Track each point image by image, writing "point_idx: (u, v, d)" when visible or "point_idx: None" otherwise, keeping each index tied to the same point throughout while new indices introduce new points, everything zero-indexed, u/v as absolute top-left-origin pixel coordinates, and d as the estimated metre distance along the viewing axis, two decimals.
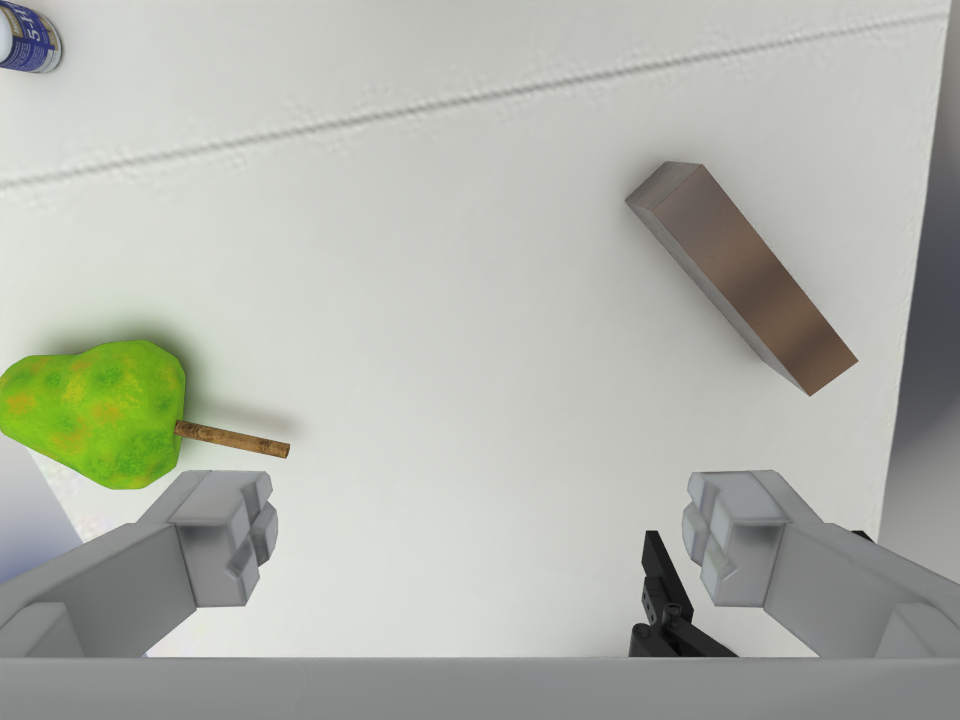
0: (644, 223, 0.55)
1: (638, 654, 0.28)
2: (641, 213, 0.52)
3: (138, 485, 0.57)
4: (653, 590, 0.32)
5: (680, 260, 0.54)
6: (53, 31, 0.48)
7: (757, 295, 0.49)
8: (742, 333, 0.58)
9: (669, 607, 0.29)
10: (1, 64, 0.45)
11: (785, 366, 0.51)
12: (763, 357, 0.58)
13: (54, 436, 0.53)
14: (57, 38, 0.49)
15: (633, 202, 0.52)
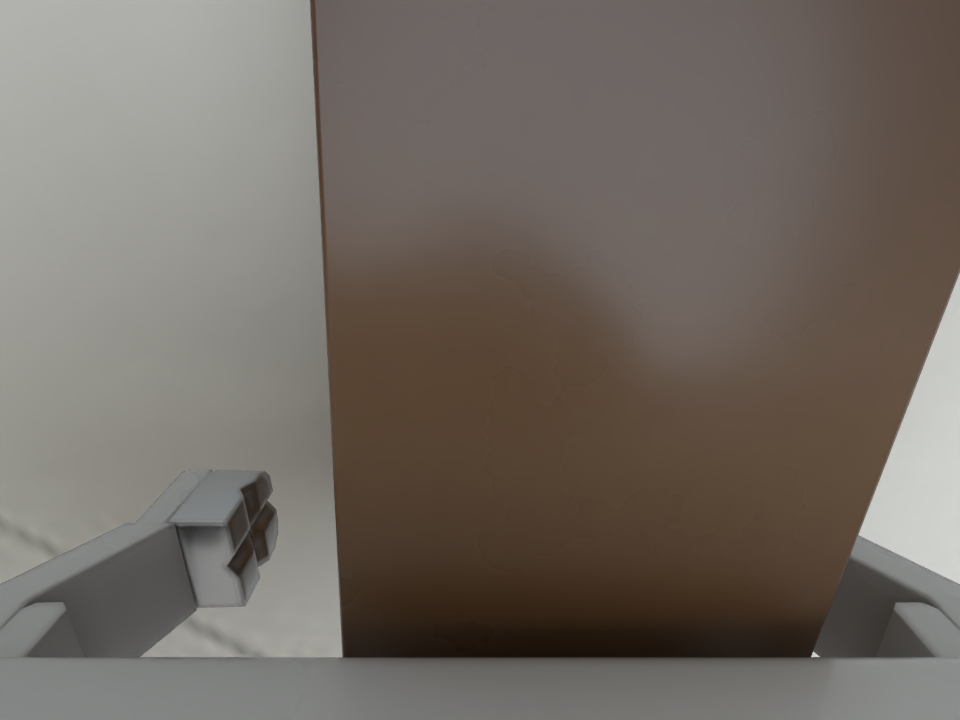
0: None
1: None
2: None
3: None
4: None
5: None
6: None
7: None
8: None
9: None
10: None
11: None
12: None
13: None
14: None
15: None
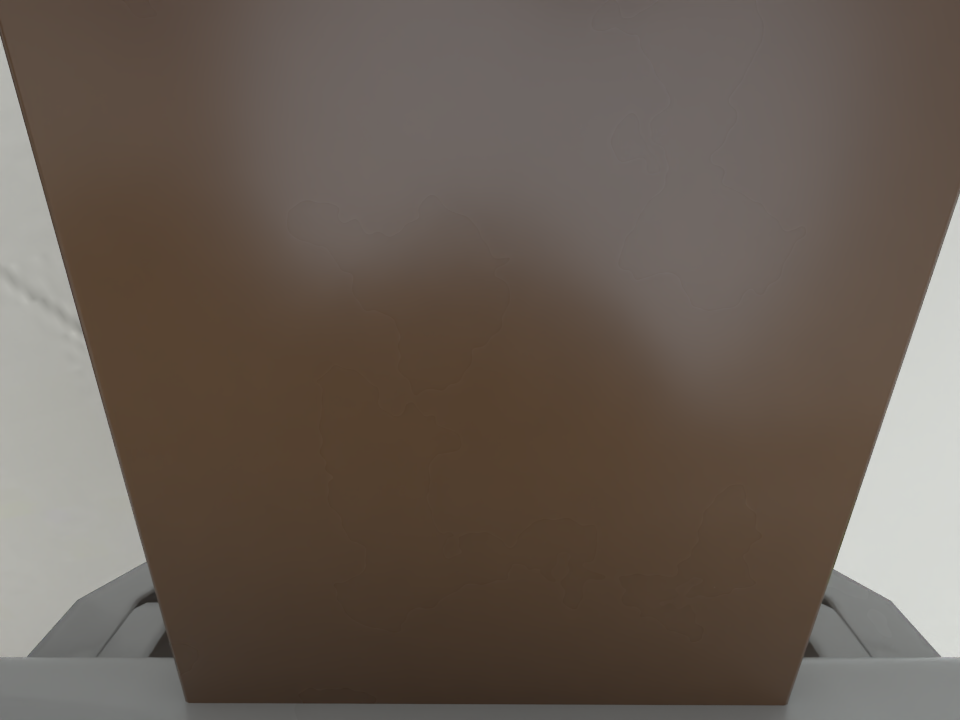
0: None
1: None
2: None
3: None
4: None
5: None
6: None
7: None
8: None
9: None
10: None
11: None
12: None
13: None
14: None
15: None
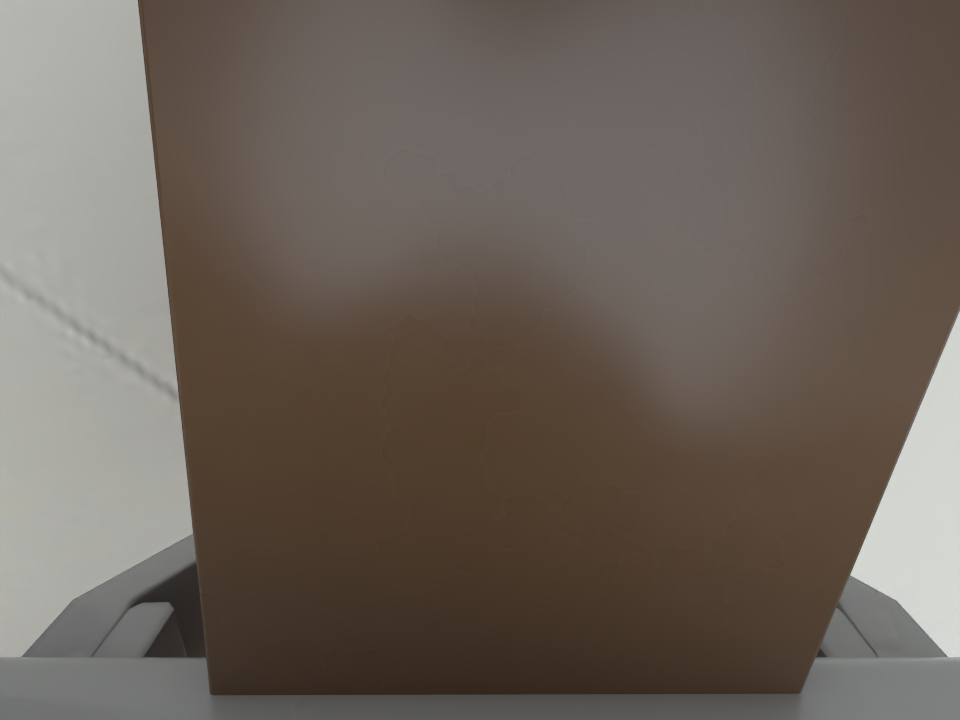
0: None
1: None
2: None
3: None
4: None
5: None
6: None
7: None
8: None
9: None
10: None
11: None
12: None
13: None
14: None
15: None
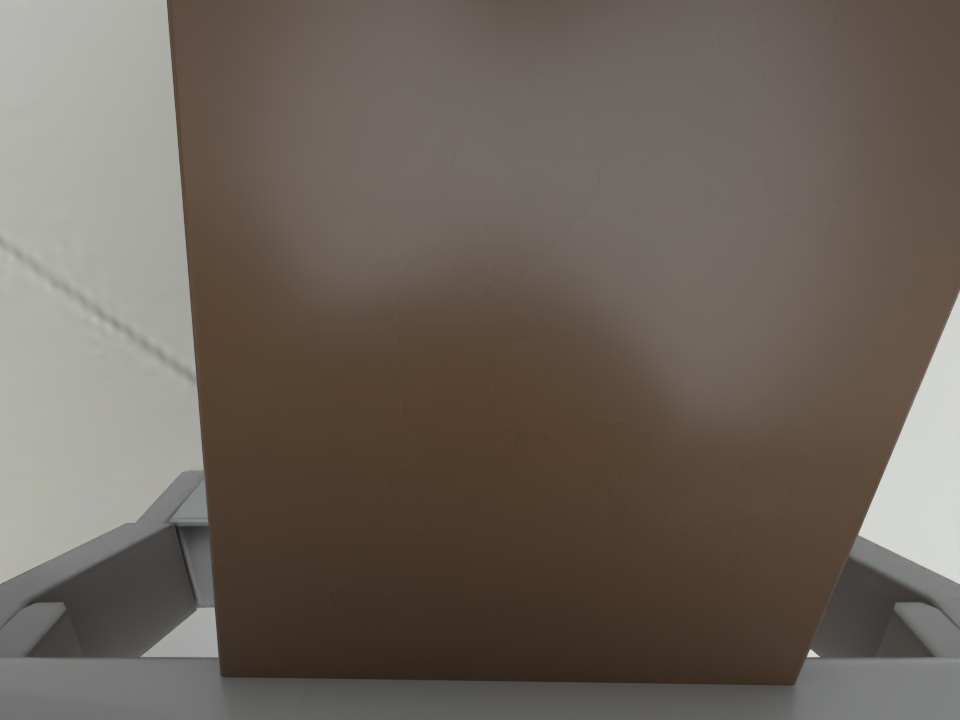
0: None
1: None
2: None
3: None
4: None
5: None
6: None
7: None
8: None
9: None
10: None
11: None
12: None
13: None
14: None
15: None
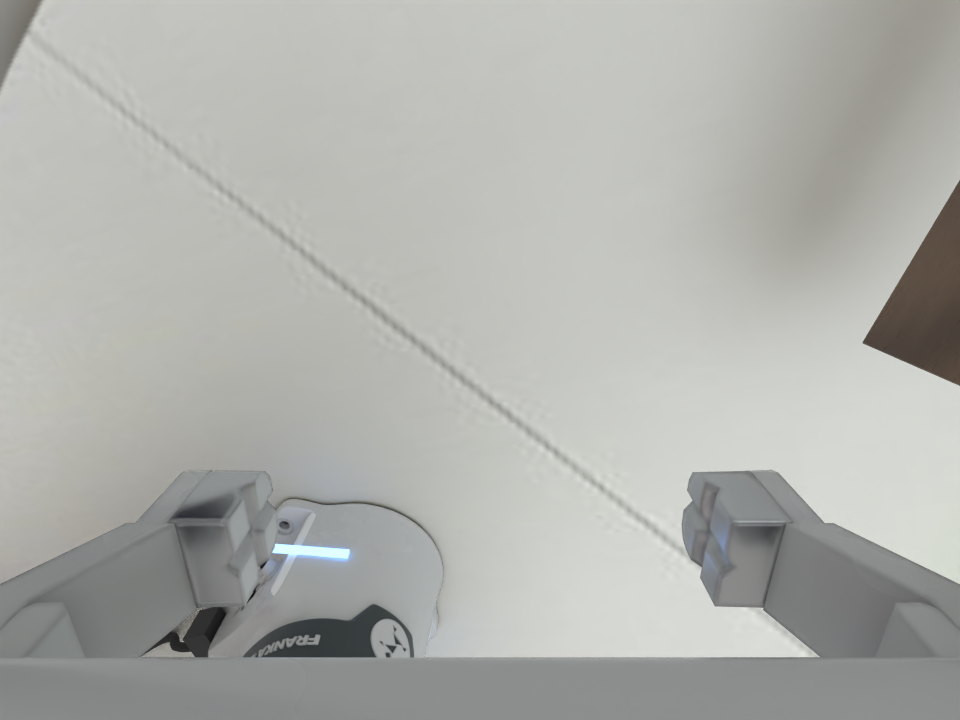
0: None
1: None
2: None
3: None
4: None
5: None
6: None
7: None
8: None
9: None
10: None
11: None
12: None
13: None
14: None
15: None
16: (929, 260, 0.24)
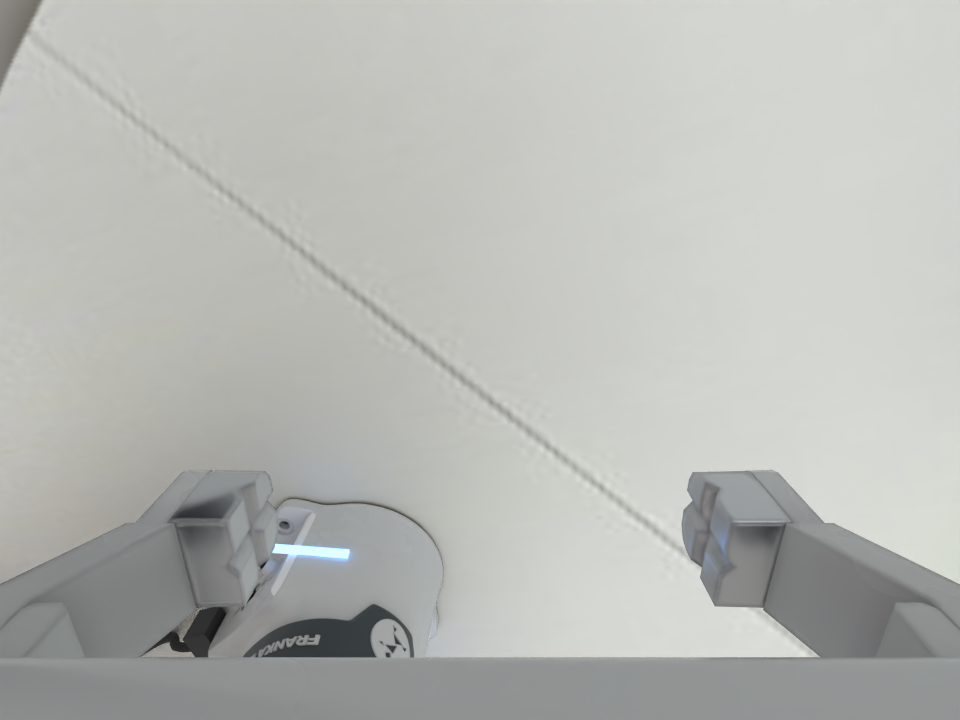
0: None
1: None
2: None
3: None
4: None
5: None
6: None
7: None
8: None
9: None
10: None
11: None
12: None
13: None
14: None
15: None
16: None
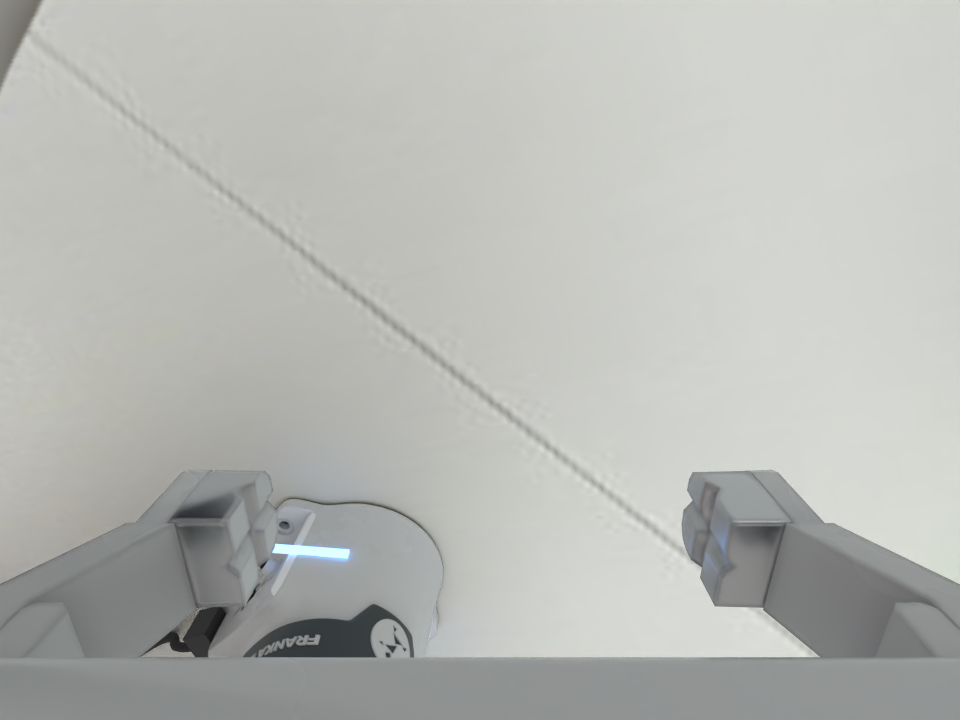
0: None
1: None
2: None
3: None
4: None
5: None
6: None
7: None
8: None
9: None
10: None
11: None
12: None
13: None
14: None
15: None
16: None
